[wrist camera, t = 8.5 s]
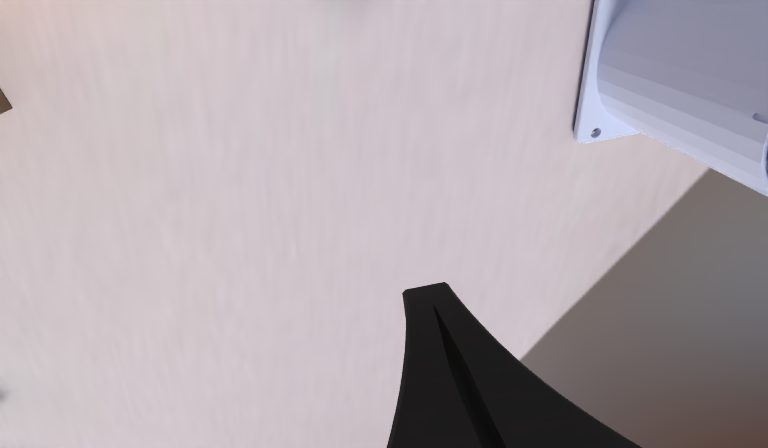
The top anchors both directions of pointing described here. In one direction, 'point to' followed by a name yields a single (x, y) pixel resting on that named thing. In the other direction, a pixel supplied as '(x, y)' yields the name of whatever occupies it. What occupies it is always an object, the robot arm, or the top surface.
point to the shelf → (4, 104)
